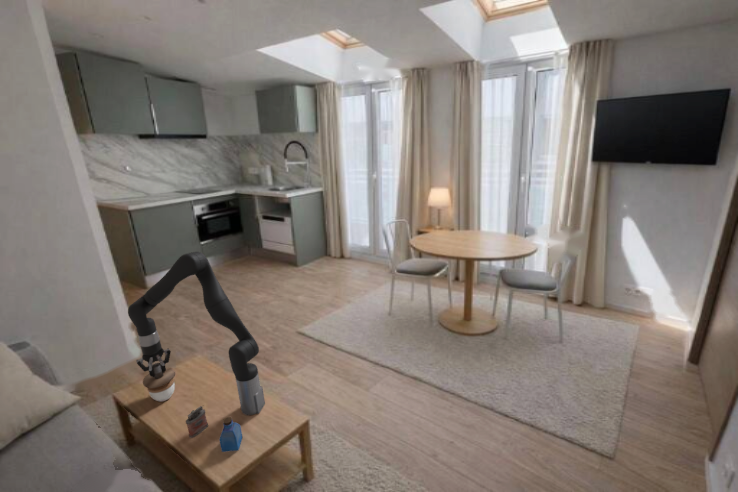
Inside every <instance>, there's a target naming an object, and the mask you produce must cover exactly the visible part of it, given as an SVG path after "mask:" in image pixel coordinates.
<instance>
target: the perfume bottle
mask: <svg viewBox="0 0 738 492" xmlns="http://www.w3.org/2000/svg"><path fill="white" fill-rule="evenodd" d="M222 422H223V428H222V431H221V433H220V436H219V438H218V440H219V445H220V449H221V452H222V453H224V452H225V453H227V452H236V451H239V450H240V447H241V444H242V440H243V432H242V427H241V424H239V423H237V422H235V421H233V417H232V416H227V417H225V418H224V419H223V420H222Z"/></svg>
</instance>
